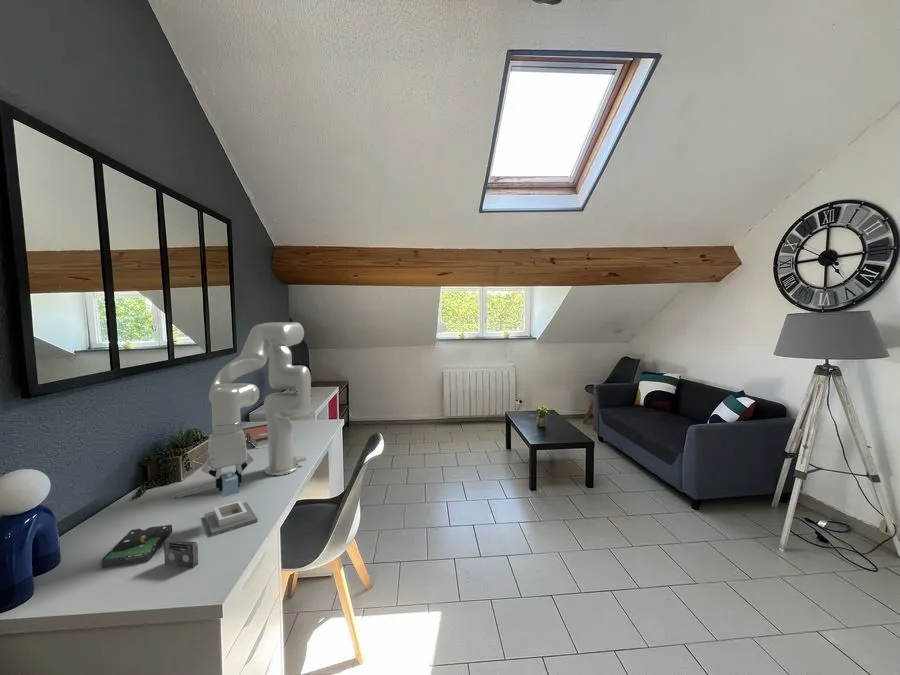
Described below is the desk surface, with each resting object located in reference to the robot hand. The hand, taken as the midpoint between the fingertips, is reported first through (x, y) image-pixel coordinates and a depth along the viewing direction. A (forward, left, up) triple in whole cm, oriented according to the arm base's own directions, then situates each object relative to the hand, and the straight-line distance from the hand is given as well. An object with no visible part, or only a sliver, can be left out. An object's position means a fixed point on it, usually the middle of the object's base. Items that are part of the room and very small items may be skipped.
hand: (228, 487), depth 120 cm
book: (-30, -80, -11) cm, 86 cm away
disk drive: (+22, +1, -11) cm, 25 cm away
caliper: (+3, -26, -11) cm, 28 cm away
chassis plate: (0, 0, -10) cm, 10 cm away
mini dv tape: (+14, +17, -11) cm, 24 cm away
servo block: (0, 0, -1) cm, 1 cm away
